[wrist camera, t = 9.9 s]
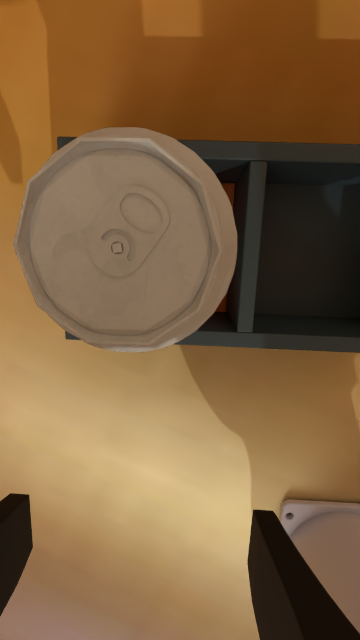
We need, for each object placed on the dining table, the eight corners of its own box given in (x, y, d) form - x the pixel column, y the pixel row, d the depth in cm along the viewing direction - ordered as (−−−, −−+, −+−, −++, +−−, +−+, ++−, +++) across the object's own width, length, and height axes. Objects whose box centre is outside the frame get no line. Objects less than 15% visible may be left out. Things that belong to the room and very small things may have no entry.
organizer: (367, 328, 19) (428, 356, 14) (97, 316, 20) (65, 339, 15) (393, 175, 17) (473, 146, 12) (93, 166, 18) (56, 135, 13)
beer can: (106, 256, 18) (-54, 271, 6) (157, 183, 17) (79, 40, 5) (175, 308, 18) (145, 411, 7) (228, 239, 18) (299, 222, 6)
